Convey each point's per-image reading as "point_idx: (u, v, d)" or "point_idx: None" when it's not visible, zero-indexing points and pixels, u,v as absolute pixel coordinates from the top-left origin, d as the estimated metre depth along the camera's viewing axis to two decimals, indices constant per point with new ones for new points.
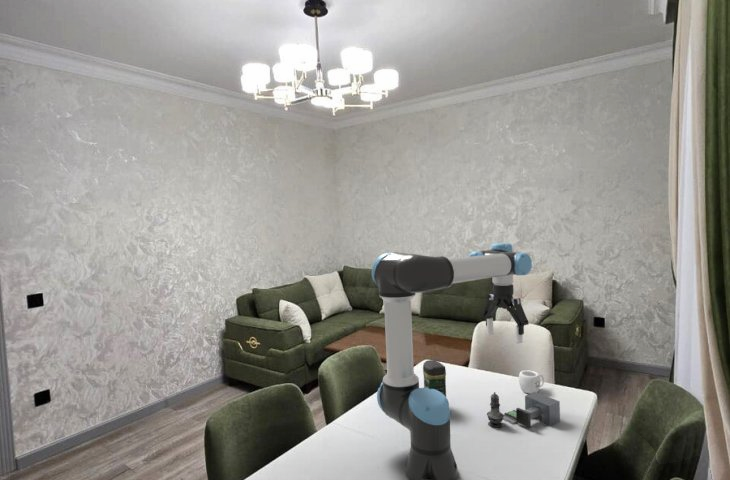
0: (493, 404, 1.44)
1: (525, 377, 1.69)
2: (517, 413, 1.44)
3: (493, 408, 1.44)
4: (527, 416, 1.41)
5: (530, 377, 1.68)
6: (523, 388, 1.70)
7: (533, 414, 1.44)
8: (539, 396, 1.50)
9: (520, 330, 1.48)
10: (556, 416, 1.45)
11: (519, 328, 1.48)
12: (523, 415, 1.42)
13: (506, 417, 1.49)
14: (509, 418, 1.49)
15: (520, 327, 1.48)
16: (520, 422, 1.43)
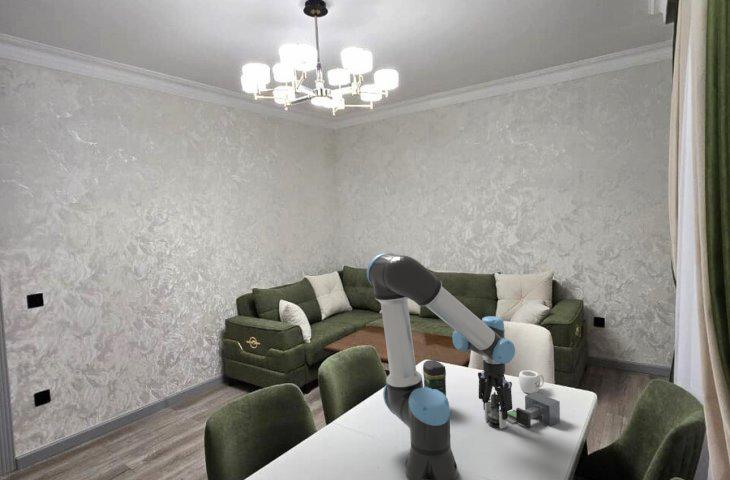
0: (493, 404, 1.44)
1: (525, 377, 1.69)
2: (517, 413, 1.44)
3: (493, 408, 1.44)
4: (527, 416, 1.41)
5: (530, 377, 1.68)
6: (523, 388, 1.70)
7: (533, 414, 1.44)
8: (539, 396, 1.50)
9: (504, 415, 1.41)
10: (556, 416, 1.45)
11: (503, 412, 1.42)
12: (523, 415, 1.42)
13: None
14: (509, 418, 1.49)
15: (504, 412, 1.41)
16: (520, 422, 1.43)
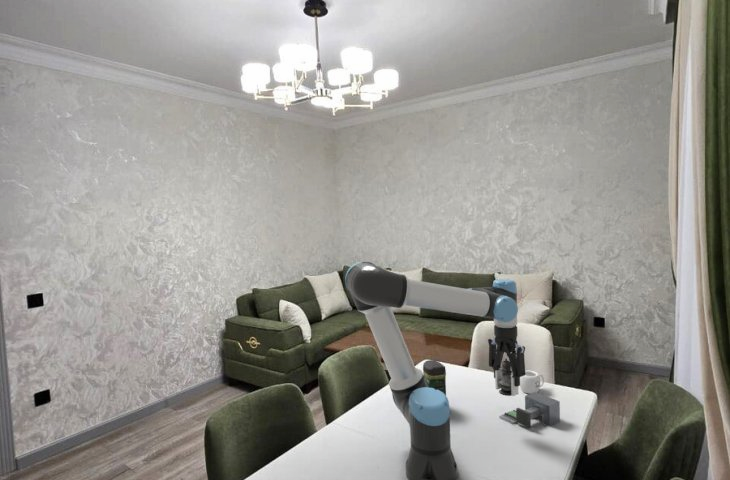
0: (505, 371, 1.38)
1: (525, 377, 1.69)
2: (517, 413, 1.44)
3: (505, 375, 1.38)
4: (527, 416, 1.41)
5: (530, 377, 1.68)
6: (523, 388, 1.70)
7: (533, 414, 1.44)
8: (539, 396, 1.50)
9: (516, 381, 1.35)
10: (556, 416, 1.45)
11: (515, 379, 1.35)
12: (523, 415, 1.42)
13: (506, 417, 1.49)
14: (509, 418, 1.49)
15: (516, 378, 1.35)
16: (520, 422, 1.43)
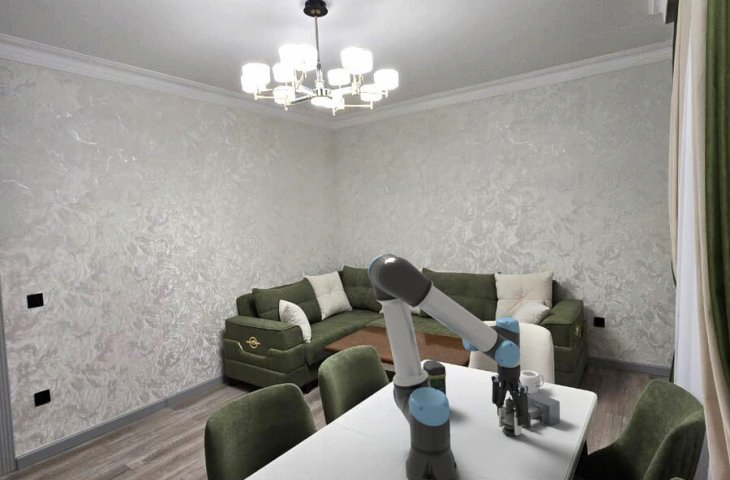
0: (508, 409, 1.38)
1: (525, 377, 1.69)
2: None
3: (508, 413, 1.38)
4: (527, 416, 1.41)
5: (530, 377, 1.68)
6: None
7: (533, 414, 1.44)
8: (539, 396, 1.50)
9: (519, 421, 1.35)
10: (556, 416, 1.45)
11: (518, 418, 1.35)
12: None
13: None
14: None
15: (519, 418, 1.35)
16: None
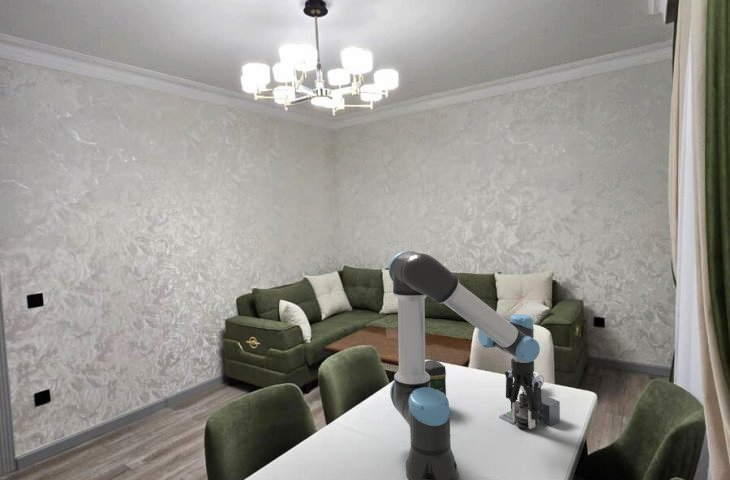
0: (522, 404, 1.42)
1: None
2: None
3: (522, 408, 1.42)
4: None
5: None
6: (523, 388, 1.70)
7: (540, 411, 1.46)
8: None
9: (533, 415, 1.39)
10: (556, 416, 1.45)
11: (532, 412, 1.39)
12: None
13: (506, 417, 1.49)
14: (509, 418, 1.49)
15: (533, 412, 1.39)
16: None
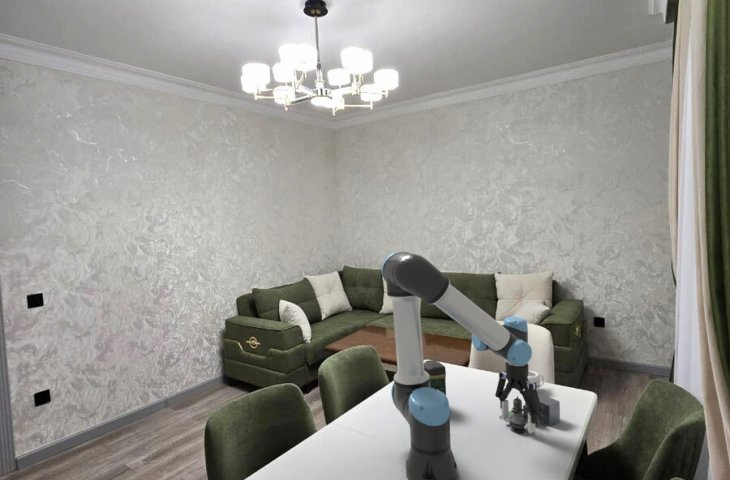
0: (516, 409, 1.40)
1: None
2: (524, 410, 1.46)
3: (516, 413, 1.40)
4: None
5: (530, 377, 1.68)
6: None
7: None
8: (539, 396, 1.50)
9: (533, 418, 1.35)
10: (556, 416, 1.45)
11: (532, 416, 1.36)
12: None
13: None
14: None
15: (533, 415, 1.35)
16: (527, 419, 1.45)
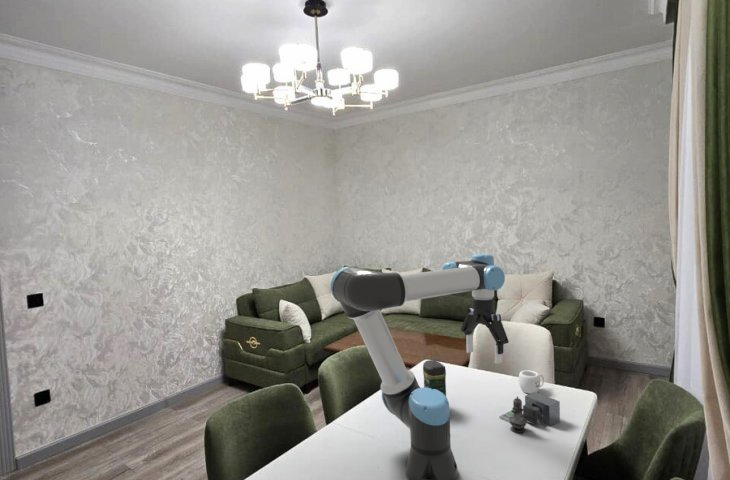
0: (516, 409, 1.40)
1: (525, 377, 1.69)
2: (524, 410, 1.46)
3: (516, 413, 1.40)
4: (534, 413, 1.43)
5: (530, 377, 1.68)
6: (523, 388, 1.70)
7: (540, 411, 1.46)
8: (539, 396, 1.50)
9: (499, 349, 1.36)
10: (556, 416, 1.45)
11: (499, 346, 1.37)
12: (530, 412, 1.44)
13: (506, 417, 1.49)
14: None
15: (499, 346, 1.36)
16: (527, 419, 1.45)
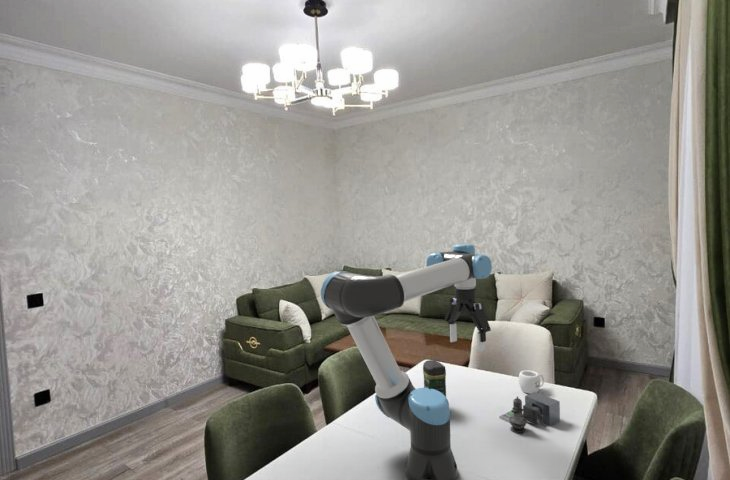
0: (516, 409, 1.40)
1: (525, 377, 1.69)
2: (524, 410, 1.46)
3: (516, 413, 1.40)
4: (534, 413, 1.43)
5: (530, 377, 1.68)
6: (523, 388, 1.70)
7: (540, 411, 1.46)
8: (539, 396, 1.50)
9: (482, 337, 1.39)
10: (556, 416, 1.45)
11: (481, 334, 1.39)
12: (530, 412, 1.44)
13: (506, 417, 1.49)
14: None
15: (482, 334, 1.38)
16: (527, 419, 1.45)
